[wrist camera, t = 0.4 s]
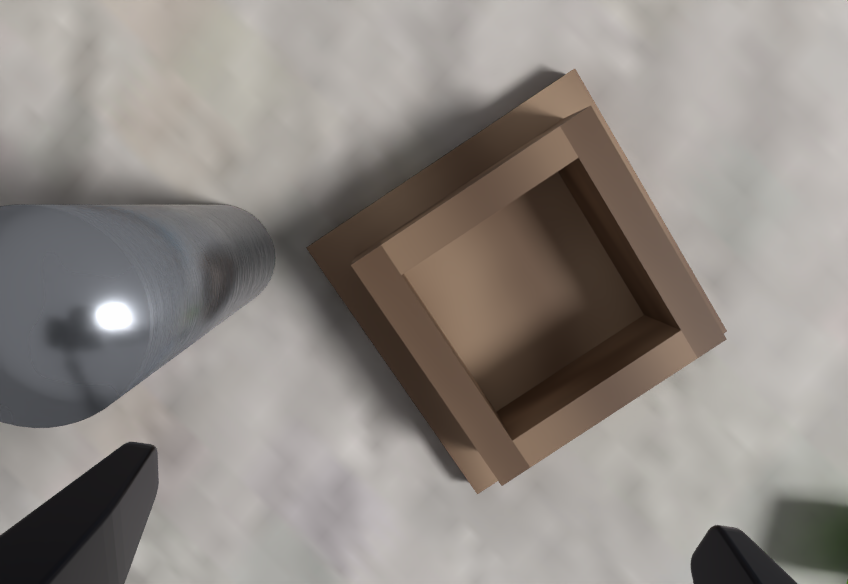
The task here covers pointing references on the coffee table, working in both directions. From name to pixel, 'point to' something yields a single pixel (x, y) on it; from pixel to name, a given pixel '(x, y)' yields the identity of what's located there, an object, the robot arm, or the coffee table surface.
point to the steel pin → (113, 297)
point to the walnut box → (522, 285)
